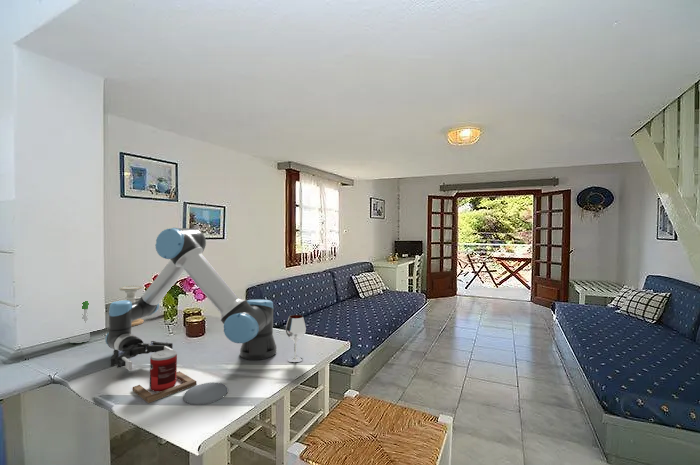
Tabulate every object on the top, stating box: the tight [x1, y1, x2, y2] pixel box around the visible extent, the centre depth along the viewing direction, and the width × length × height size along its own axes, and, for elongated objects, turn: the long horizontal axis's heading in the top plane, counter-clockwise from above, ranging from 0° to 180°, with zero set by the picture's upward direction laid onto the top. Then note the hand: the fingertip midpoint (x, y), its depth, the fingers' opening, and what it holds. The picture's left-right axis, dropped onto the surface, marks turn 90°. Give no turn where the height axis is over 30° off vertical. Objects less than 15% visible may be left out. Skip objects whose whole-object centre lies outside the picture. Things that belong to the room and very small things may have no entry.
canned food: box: [149, 349, 178, 393], centre depth 108 cm, size 8×8×11 cm
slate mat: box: [183, 382, 229, 406], centre depth 104 cm, size 13×13×1 cm
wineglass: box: [285, 314, 307, 360], centre depth 132 cm, size 8×8×18 cm
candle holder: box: [119, 285, 144, 327], centre depth 175 cm, size 12×12×20 cm
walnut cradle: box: [132, 371, 198, 404], centre depth 107 cm, size 12×15×1 cm
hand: (152, 359), depth 112 cm, fingers open, 13 cm apart
